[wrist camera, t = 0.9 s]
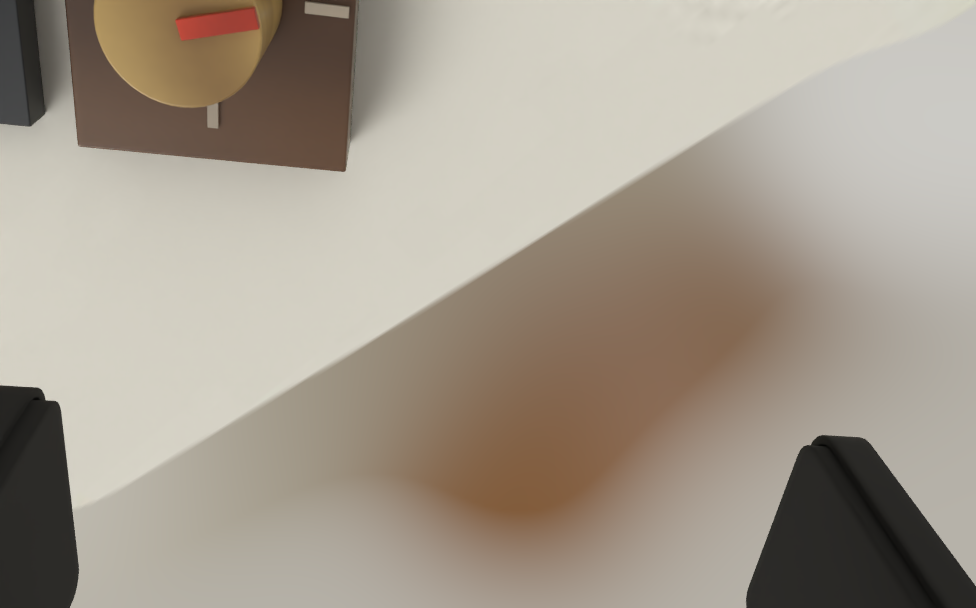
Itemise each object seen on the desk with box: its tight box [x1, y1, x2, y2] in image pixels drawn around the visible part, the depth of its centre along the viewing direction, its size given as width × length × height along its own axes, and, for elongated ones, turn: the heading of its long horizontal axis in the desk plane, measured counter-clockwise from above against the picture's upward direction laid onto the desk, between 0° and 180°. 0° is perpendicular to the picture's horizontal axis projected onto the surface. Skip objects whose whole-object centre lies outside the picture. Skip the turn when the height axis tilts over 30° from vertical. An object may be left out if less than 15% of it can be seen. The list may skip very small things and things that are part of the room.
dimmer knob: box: [94, 0, 282, 108], centre depth 26 cm, size 4×4×5 cm
